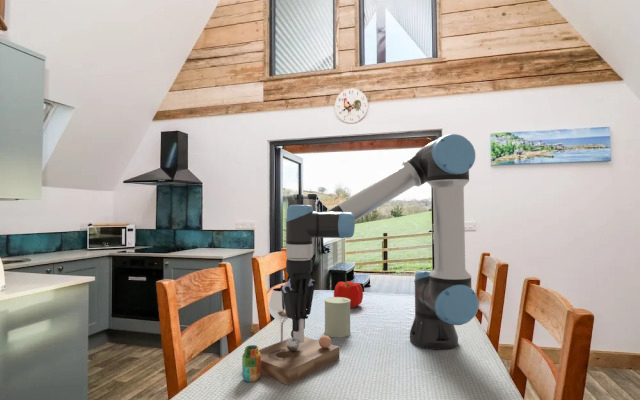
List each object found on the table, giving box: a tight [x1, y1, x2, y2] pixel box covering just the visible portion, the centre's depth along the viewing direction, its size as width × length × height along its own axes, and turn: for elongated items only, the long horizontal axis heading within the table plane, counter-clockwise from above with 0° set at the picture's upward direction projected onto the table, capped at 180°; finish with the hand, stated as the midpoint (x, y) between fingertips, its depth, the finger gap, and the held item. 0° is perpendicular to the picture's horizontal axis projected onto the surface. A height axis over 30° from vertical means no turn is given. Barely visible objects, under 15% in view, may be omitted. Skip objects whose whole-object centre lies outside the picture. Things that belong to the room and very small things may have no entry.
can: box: [323, 296, 351, 339], centre depth 132 cm, size 9×9×12 cm
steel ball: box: [286, 337, 299, 351], centre depth 105 cm, size 4×4×4 cm
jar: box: [241, 344, 261, 383], centre depth 95 cm, size 5×5×8 cm
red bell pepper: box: [333, 280, 364, 309], centre depth 169 cm, size 14×13×10 cm
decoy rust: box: [318, 334, 332, 348], centre depth 107 cm, size 4×4×4 cm
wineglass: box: [268, 287, 289, 342], centre depth 118 cm, size 8×8×18 cm
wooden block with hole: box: [259, 336, 340, 386], centre depth 105 cm, size 16×21×4 cm
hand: (298, 341), depth 107 cm, fingers closed
